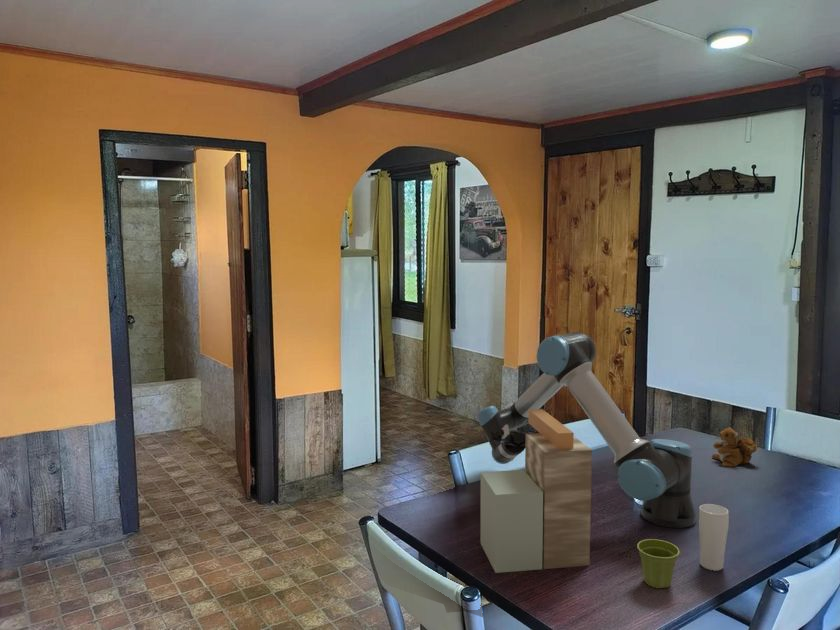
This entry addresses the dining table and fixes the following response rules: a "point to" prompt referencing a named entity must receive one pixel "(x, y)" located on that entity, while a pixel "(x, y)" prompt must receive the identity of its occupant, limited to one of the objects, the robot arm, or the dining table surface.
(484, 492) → the sage green pillar
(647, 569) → the plant pot
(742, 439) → the stuffed squirrel
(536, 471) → the tall stand
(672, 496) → the robot arm
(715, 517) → the drinking glass
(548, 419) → the orange bar
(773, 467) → the dining table surface
